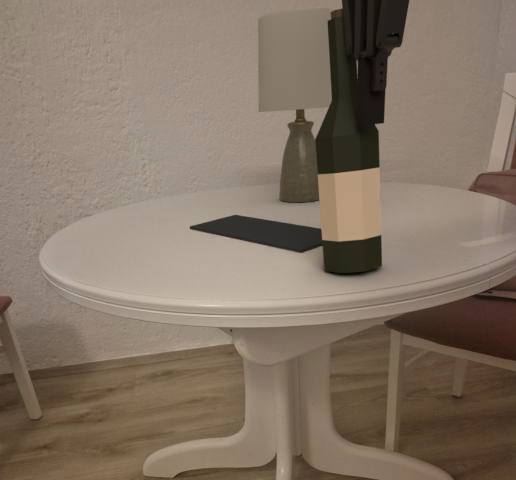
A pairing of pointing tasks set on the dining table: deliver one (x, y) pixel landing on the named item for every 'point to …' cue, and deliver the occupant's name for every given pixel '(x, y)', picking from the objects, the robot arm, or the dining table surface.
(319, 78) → the lamp
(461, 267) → the dining table surface
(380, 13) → the robot arm
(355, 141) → the wine bottle
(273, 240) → the mat
